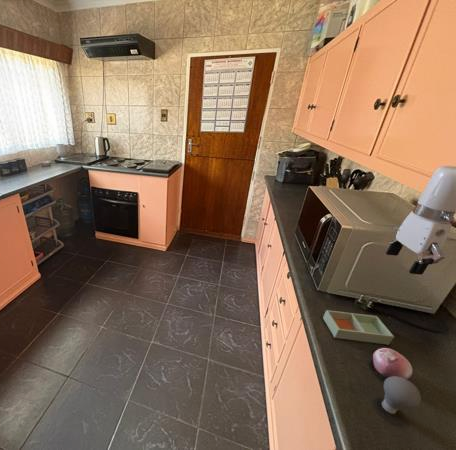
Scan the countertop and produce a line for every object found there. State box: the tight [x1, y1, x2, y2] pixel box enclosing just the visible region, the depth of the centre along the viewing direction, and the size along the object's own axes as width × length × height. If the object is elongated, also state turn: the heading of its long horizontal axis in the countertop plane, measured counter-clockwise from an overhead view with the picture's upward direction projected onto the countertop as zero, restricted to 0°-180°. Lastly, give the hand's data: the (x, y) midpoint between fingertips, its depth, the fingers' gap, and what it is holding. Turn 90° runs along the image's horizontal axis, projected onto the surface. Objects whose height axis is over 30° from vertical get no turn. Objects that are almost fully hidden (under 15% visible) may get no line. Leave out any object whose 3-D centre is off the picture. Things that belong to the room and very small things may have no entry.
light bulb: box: [381, 376, 422, 415], centre depth 57 cm, size 6×6×10 cm
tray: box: [322, 309, 395, 346], centre depth 78 cm, size 16×8×4 cm, turn 82°
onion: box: [372, 347, 413, 380], centre depth 66 cm, size 8×8×7 cm
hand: (402, 263), depth 75 cm, fingers open, 9 cm apart
